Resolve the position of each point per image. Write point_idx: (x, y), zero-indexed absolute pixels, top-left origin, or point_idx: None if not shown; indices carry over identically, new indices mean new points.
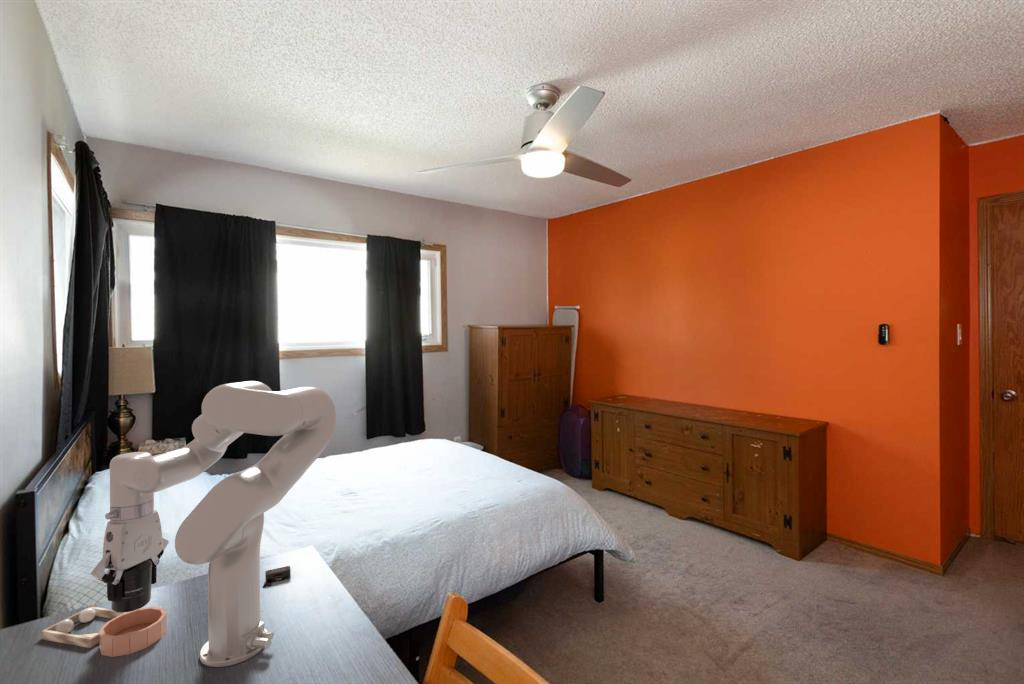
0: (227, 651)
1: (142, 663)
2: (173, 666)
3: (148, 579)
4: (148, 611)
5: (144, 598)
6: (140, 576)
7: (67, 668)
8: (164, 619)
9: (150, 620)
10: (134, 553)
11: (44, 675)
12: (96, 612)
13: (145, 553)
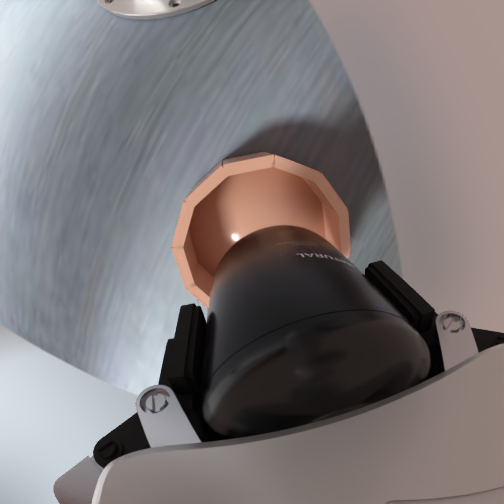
0: None
1: (311, 93)
2: (283, 13)
3: (261, 284)
4: (199, 284)
5: (270, 235)
6: (345, 296)
7: (379, 248)
8: (198, 185)
9: (198, 266)
10: (500, 475)
11: (400, 263)
12: None
13: (343, 500)
